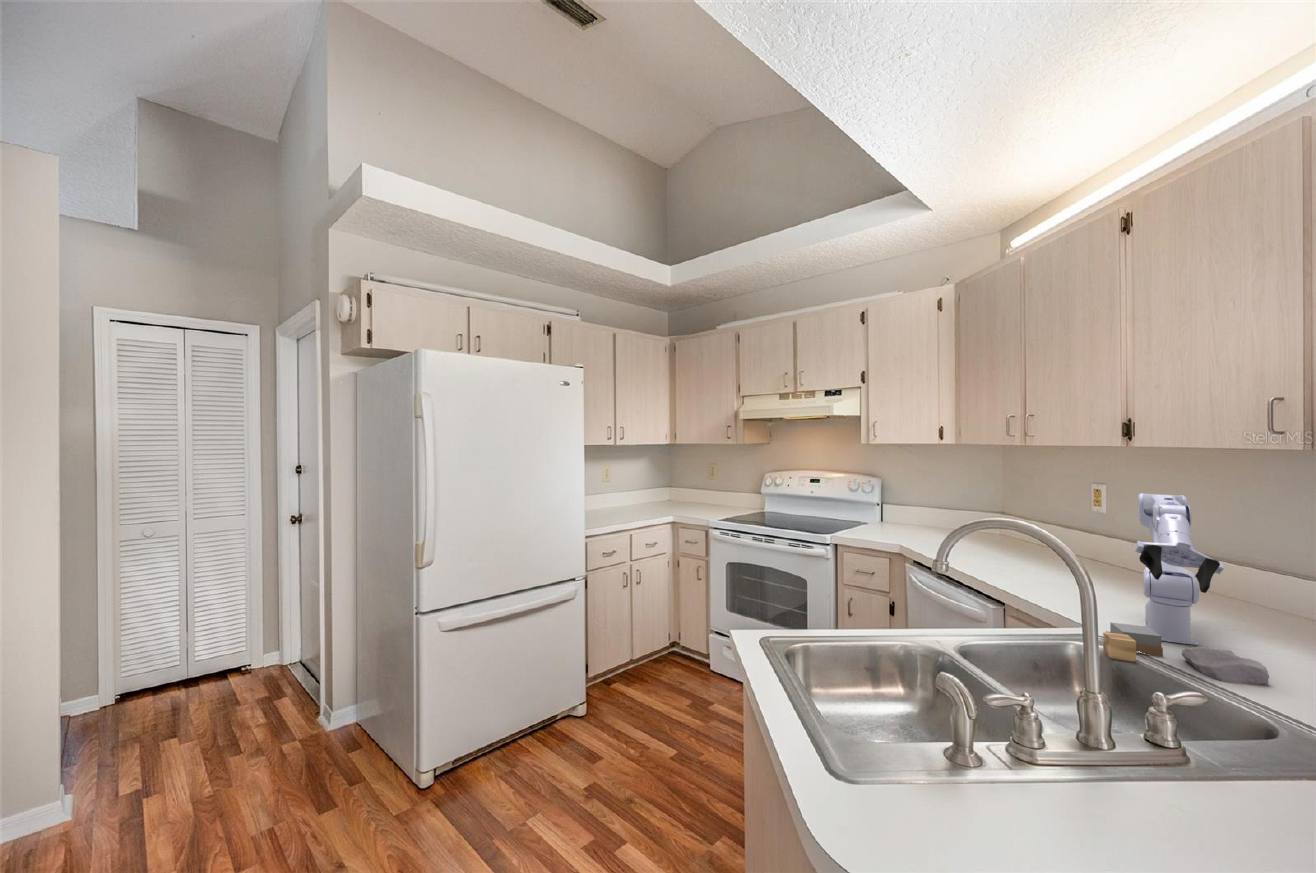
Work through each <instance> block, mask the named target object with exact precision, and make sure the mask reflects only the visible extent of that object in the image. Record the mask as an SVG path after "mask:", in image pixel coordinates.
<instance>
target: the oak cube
mask: <svg viewBox="0 0 1316 873" xmlns="http://www.w3.org/2000/svg"><path fill="white" fill-rule="evenodd" d="M1108 632H1109V631H1108ZM1108 632H1106V631H1103V632H1102V634H1103V635H1102V636H1103V637H1102V640H1103V641H1102V642H1103V643H1102V647H1103V648H1102V652H1103V653H1104V654H1106V656H1108V657H1109V659H1114V660H1119V661H1128V662H1137V653H1136V641H1135V640H1133V639H1132V638H1131V637H1130V636H1129V635H1124V634H1116V633H1108Z"/></svg>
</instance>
